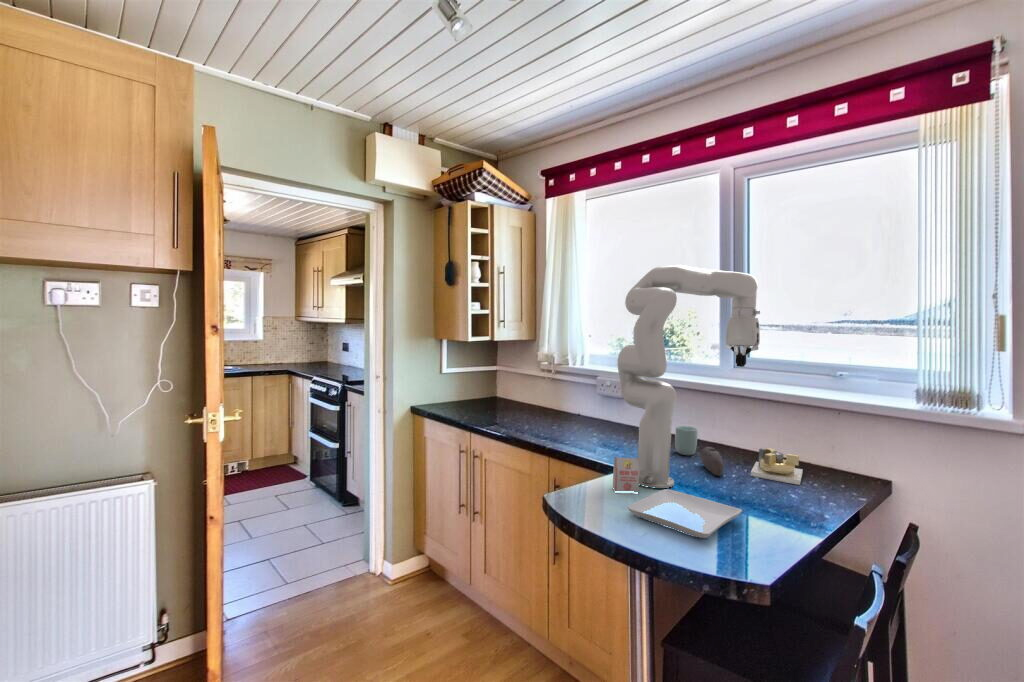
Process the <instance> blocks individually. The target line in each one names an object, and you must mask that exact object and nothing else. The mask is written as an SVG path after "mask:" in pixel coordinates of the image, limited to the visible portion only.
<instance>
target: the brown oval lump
mask: <svg viewBox="0 0 1024 682" xmlns="http://www.w3.org/2000/svg"><path fill="white" fill-rule="evenodd" d="M700 455H701V459H700V460H701V461H702V464H703V466H704V467H705V468H706V470H708V471H709V473H711V474H713V475H715V476H718V477H719V476H721V475H722V474H723V472H724V466H725V465H724V460H723V458H722V456H721V454H720V453H719V451H718V450H717V449H715V448H714V447H712V446H705V447H704V448H702V451H701V454H700Z"/></svg>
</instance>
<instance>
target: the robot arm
mask: <svg viewBox="0 0 1024 682" xmlns="http://www.w3.org/2000/svg"><path fill="white" fill-rule="evenodd" d="M757 292H758V280H757V278H756V277H755V276H754V275H752V274H751V273H745V272H738V271H727V270H718V269H709V268H708V269H707V268H700V267H693V266H689V265H683V264H675V265H674V264H672V265H671V264H670V265H663V266H657V267H653V268H652V269H651V270H649V271H648V272H646V274H645V275H644V276H643V277H642V278H640V280H638V282H636V283H635V285H634V286H632V287H631V289H630V290H629V291H628V292H627V294H626V295H625V301H624V302H625V303H624V305H625V308H626V310H627V311H628V312H629V313H630V314H632V315H635V316H639V317H638V318H637V320H636V322H635V324H634V327H633V342H634V343H633V344H628V345H626V346H624V347H623V348H622V349H621V350H620V352H619V354H618V356H617V361H616V362H617V372H618V377H619V384H620V390H621V395H622V398H623V400H624V401H625V403H626V404H628V405H630V406H631V407H634V408H639V409H643V410H645V411H644V413H643V415H642V417H641V418H640V421H639V424H638V446H637V448H638V449H637V458H638V459H639V484H641V485H644V486H648V487H655V488H667V489H670V488H669V487H671V488H673V487H674V486H675V480H674V479H673V478H672V477H670V469H671V467H670V465H671V447H672V445H671V443H672V425H673V415H674V411H675V407H676V404H677V392H676V389H675V388H674V386H672V385H671V384H670V383H668V382H665V381H662V380H657V379H655V378H660V377H662V376H664V375H665V373H666V371H667V367H668V366H667V365H668V364H667V357H666V356H667V354H666V347H665V342H664V326H665V324H666V322H667V320H668V318H669V316H670V315H671V314H672V312H673V310H674V309H675V307H676V305H677V294H684V295H685V294H686V295H695V296H701V297H702V296H704V297H710V296H711V297H718V298H720V299H721V298H722V299H732V300H731V316H730V317H728V322H727V326H726V332H725V347H724V348H725V349H728V350H730V351H732V352H733V353H734V355H735V365H736V367H740V368H744V367H745V365H746V364H747V356H748V354H750V353H751V352H754V351H759V345H760V339H761V336H760V335H761V333H760V323H759V322H760V321H759V317H757V315H760V314H761V310H758V309H757V294H758V293H757ZM676 293H677V294H676ZM741 347H742V348H741ZM741 349H742V350H741ZM650 378H651V379H650ZM652 378H654V379H652ZM672 486H673V487H672Z"/></svg>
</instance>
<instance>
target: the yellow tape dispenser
mask: <svg viewBox="0 0 1024 682" xmlns="http://www.w3.org/2000/svg"><path fill="white" fill-rule="evenodd" d="M765 449H766V450H767V454H765V455H764V458H761V462H760V467H761V468H762V469H763V470H766V471H769V472H773V473H779V474H793V473H794V471H795V468H796V466H798V467H799V465H800V464H799V463H800V462H799V461H800V455H797V454H793V453H786V459H784V453H782V452H777V450H776V449H773V448H771V447H766V448H765Z"/></svg>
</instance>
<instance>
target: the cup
mask: <svg viewBox="0 0 1024 682" xmlns="http://www.w3.org/2000/svg"><path fill="white" fill-rule="evenodd" d="M674 431H675V432H674V433H675V436H674V446H675V450H676V452H677V453H678V455H679V454H680V455H681V456H686V457H687V456H692V455H694V454H695V453H696V451H697V445H698V431H699V430H698V428H696V427H694V426H688V425H676V426H675V430H674Z"/></svg>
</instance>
